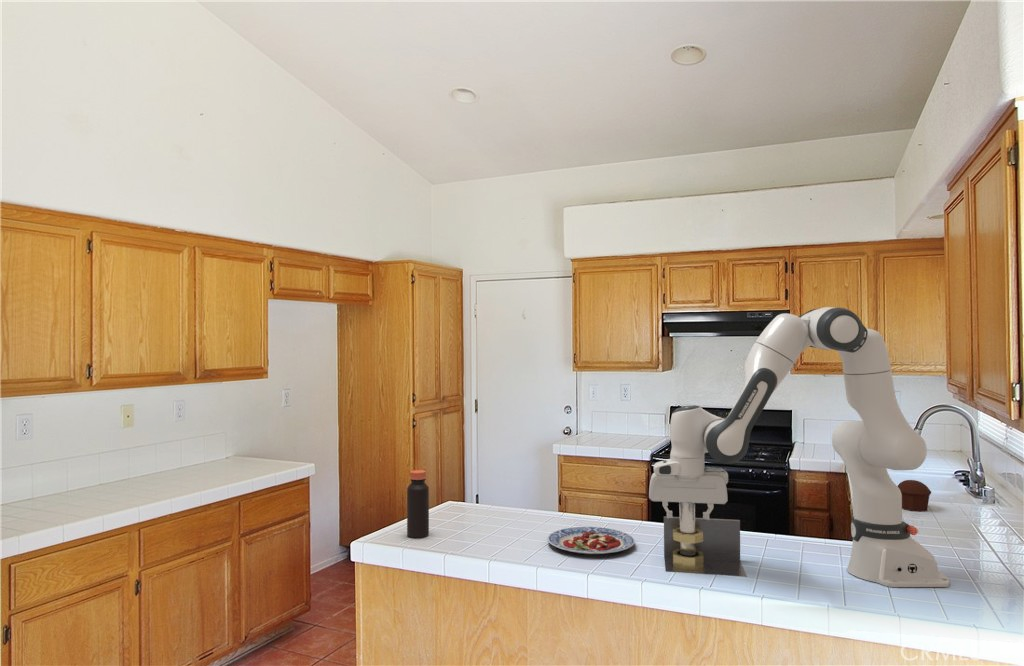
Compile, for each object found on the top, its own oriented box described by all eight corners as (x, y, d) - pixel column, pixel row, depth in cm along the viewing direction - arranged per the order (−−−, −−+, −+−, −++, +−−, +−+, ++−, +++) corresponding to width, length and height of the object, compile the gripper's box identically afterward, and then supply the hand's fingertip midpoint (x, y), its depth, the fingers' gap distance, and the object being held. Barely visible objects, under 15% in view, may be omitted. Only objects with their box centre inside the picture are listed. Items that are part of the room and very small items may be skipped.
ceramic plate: (584, 528, 214) (584, 519, 214) (652, 546, 196) (652, 536, 196) (529, 546, 196) (529, 536, 196) (598, 567, 178) (598, 555, 178)
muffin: (891, 503, 245) (890, 477, 245) (924, 505, 242) (924, 478, 243) (901, 511, 234) (900, 483, 234) (936, 513, 231) (936, 485, 231)
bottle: (422, 539, 202) (422, 474, 203) (403, 537, 205) (403, 472, 205) (432, 533, 209) (432, 470, 209) (413, 531, 211) (413, 468, 211)
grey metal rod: (695, 562, 177) (694, 498, 177) (697, 567, 173) (695, 502, 173) (679, 561, 178) (678, 498, 178) (680, 566, 173) (679, 501, 174)
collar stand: (739, 564, 179) (739, 519, 179) (747, 581, 166) (746, 533, 166) (664, 559, 183) (663, 516, 183) (665, 576, 170) (665, 529, 170)
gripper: (726, 465, 177) (727, 517, 176) (648, 463, 181) (649, 514, 180) (729, 470, 170) (730, 524, 170) (648, 467, 174) (649, 520, 174)
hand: (687, 518), depth 175 cm, fingers open, 8 cm apart
